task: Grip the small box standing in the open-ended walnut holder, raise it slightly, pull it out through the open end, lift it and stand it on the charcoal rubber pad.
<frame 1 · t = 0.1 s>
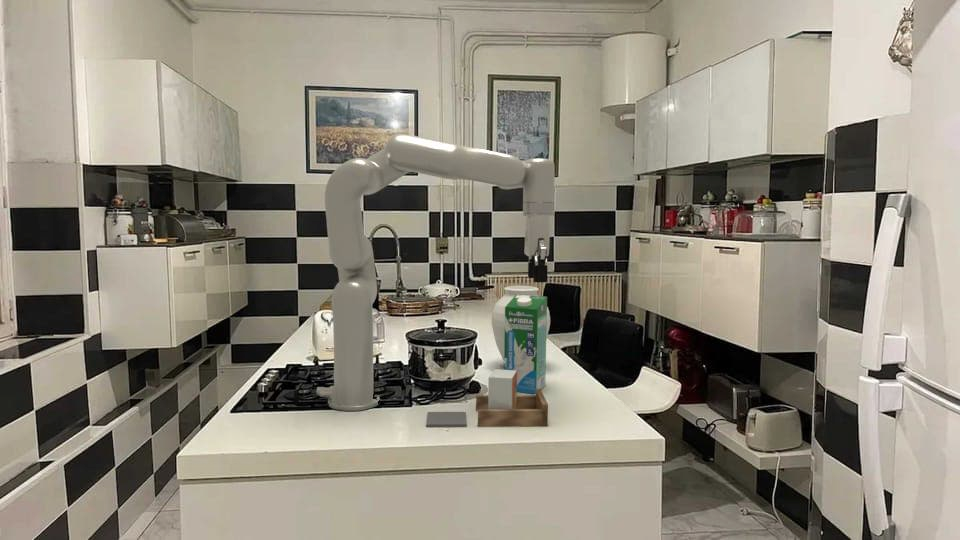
hand: (537, 279, 158), 31 cm above the worktop, tool pointing down, fingers open, 9 cm apart
pad: (446, 420, 147), on the worktop
milk carton: (524, 388, 175), on the worktop
small box: (502, 418, 150), resting in holder
vase: (520, 369, 197), on the worktop
holder: (511, 417, 150), on the worktop
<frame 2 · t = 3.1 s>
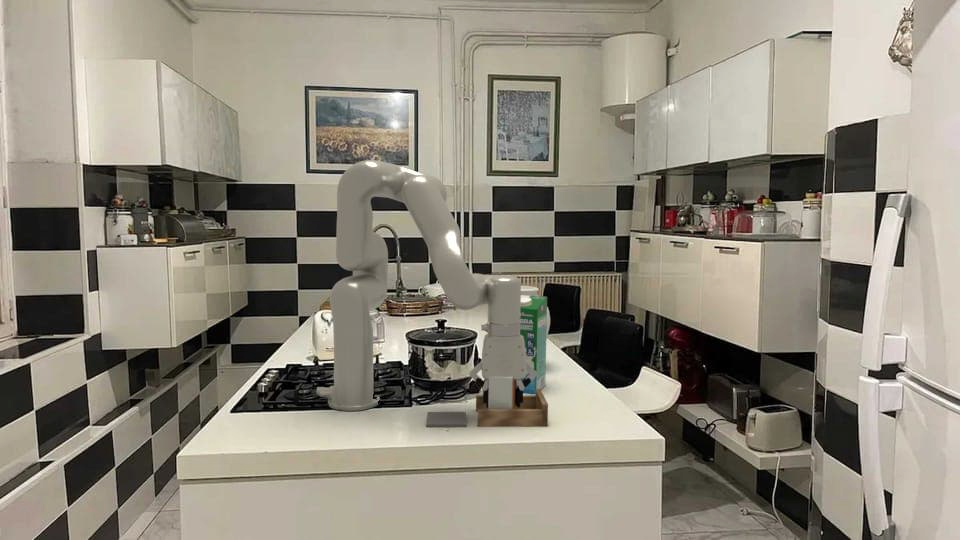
hand: (502, 405, 150), 3 cm above the worktop, tool pointing down, fingers closed on small box, 6 cm apart
small box: (502, 418, 150), resting in holder, touching gripper
everything else where it was.
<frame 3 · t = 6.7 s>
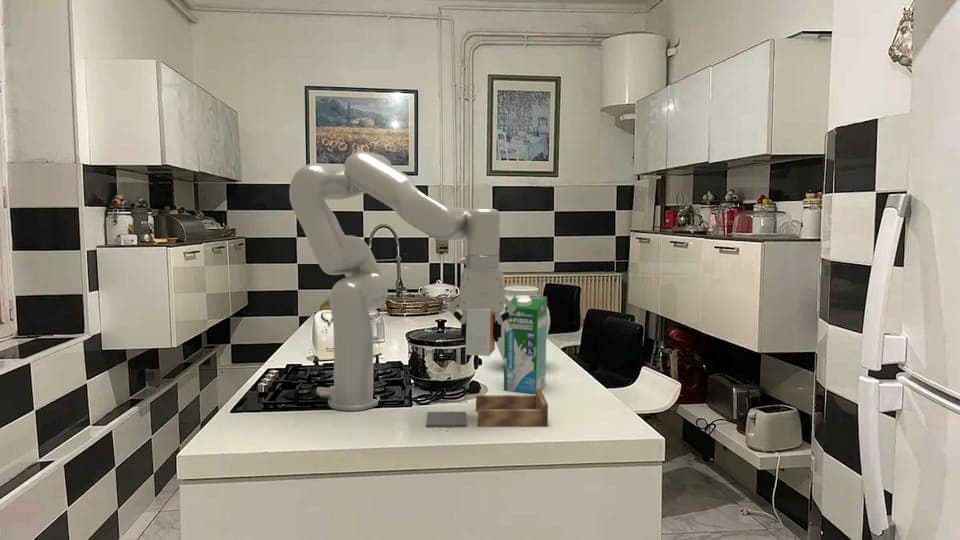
hand: (480, 339, 148), 18 cm above the worktop, tool pointing down, fingers closed on small box, 6 cm apart
small box: (480, 353, 148), point 15 cm above the worktop, touching gripper
everything else where it was.
when the fingers open (5 cm above the worktop, at t = 10.3 s): small box drops 1 cm, resting on pad.
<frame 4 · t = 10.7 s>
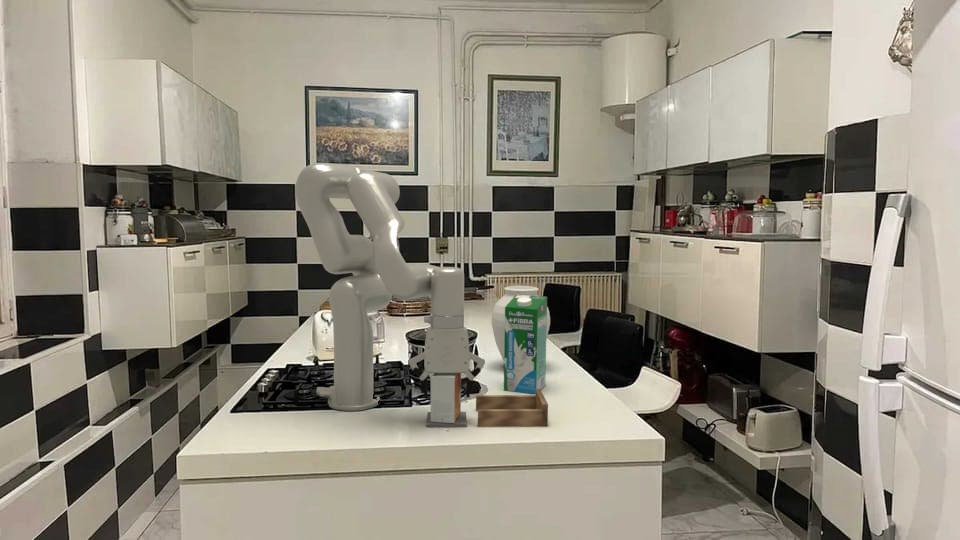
hand: (446, 396, 147), 6 cm above the worktop, tool pointing down, fingers open, 9 cm apart
small box: (446, 418, 147), resting on pad
everything else where it was.
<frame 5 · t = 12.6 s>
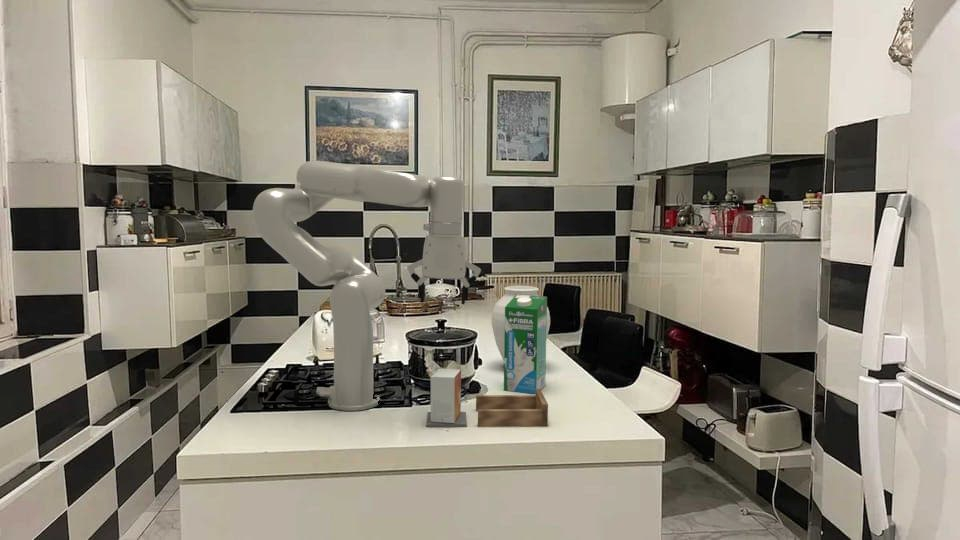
hand: (442, 302, 152), 26 cm above the worktop, tool pointing down, fingers open, 9 cm apart
nothing on the worktop moved.
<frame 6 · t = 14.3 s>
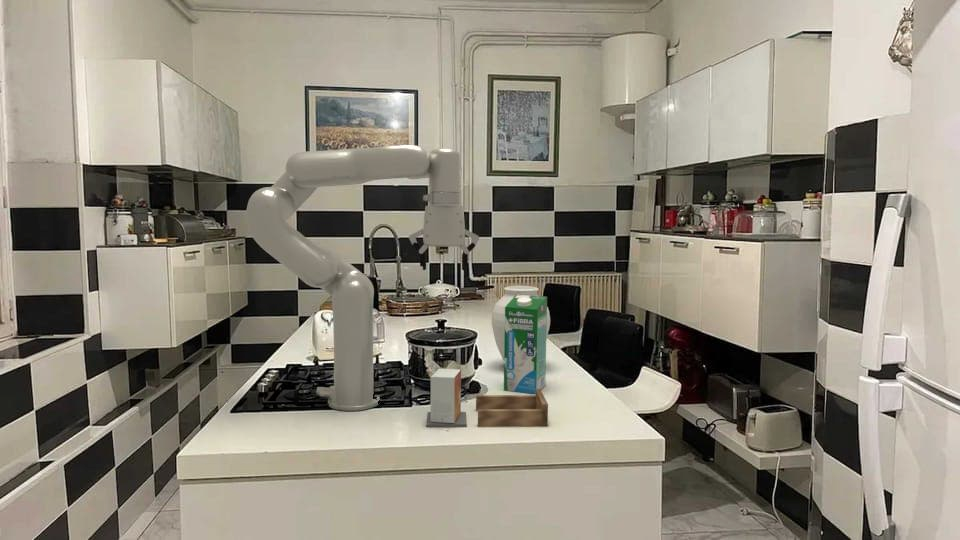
hand: (443, 269, 159), 33 cm above the worktop, tool pointing down, fingers open, 9 cm apart
nothing on the worktop moved.
at the end: small box inside the target area on the pad (0.2 cm from its centre), point 0.4 cm above the pad's base; small box tilted 0°; the gripper is holding nothing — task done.
